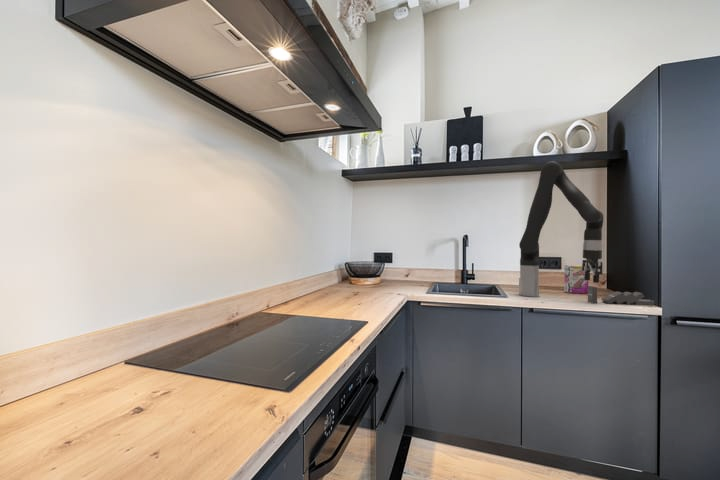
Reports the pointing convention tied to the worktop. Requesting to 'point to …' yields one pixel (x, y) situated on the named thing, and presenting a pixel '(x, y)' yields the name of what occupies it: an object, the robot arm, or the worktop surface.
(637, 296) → the domino
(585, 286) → the candy bar box
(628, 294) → the dark grey bumpy bar
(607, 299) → the domino
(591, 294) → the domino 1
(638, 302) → the domino
